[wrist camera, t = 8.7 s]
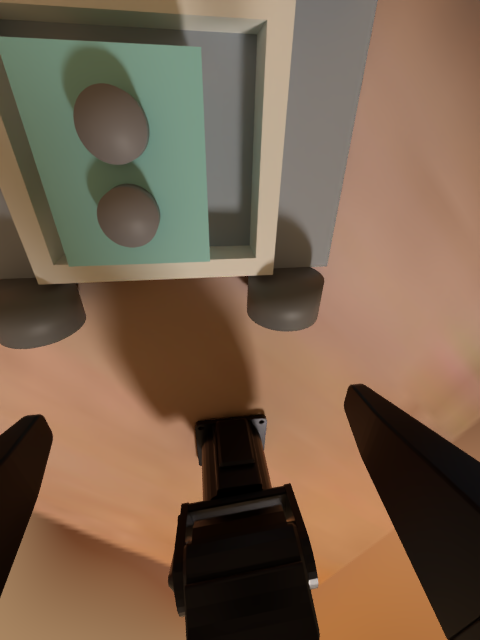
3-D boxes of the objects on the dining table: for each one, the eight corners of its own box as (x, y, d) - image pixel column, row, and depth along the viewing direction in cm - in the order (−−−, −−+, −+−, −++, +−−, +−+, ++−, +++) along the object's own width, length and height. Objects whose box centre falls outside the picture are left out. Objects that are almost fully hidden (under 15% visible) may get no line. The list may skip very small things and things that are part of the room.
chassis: (315, 292, 21) (341, 327, 17) (7, 308, 18) (-39, 353, 15) (382, -89, 12) (470, -188, 8) (-220, -158, 9) (-495, -349, 5)
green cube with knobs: (204, 219, 16) (211, 270, 10) (108, 221, 15) (60, 276, 10) (197, 77, 13) (201, 39, 7) (75, 73, 12) (-27, 26, 6)
